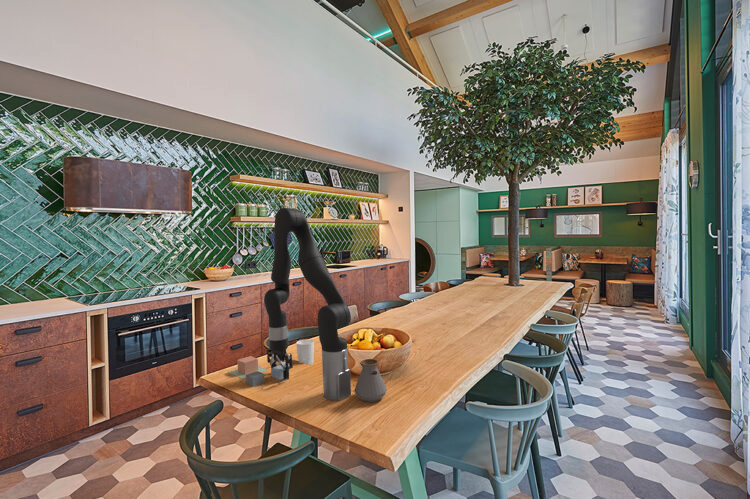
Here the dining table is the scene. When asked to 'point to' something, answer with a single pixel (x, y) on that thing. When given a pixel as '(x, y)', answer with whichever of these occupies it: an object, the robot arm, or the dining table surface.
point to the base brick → (247, 365)
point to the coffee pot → (370, 382)
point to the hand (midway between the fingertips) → (280, 376)
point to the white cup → (305, 351)
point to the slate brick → (255, 378)
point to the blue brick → (278, 373)
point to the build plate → (242, 376)
